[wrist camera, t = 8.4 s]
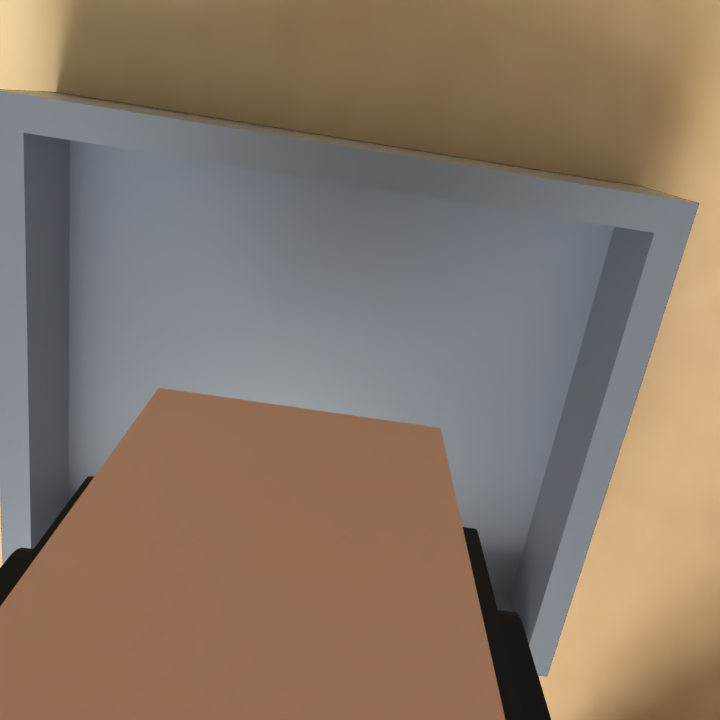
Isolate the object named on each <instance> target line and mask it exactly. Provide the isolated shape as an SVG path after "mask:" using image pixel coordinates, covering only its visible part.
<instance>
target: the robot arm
mask: <svg viewBox="0 0 720 720" xmlns="http://www.w3.org/2000/svg"><path fill="white" fill-rule="evenodd" d="M93 478H94V476H88V477H87V478H86V479H85V480H84V482H83V483H82V484H81V486H80V487H79V488H78V490H77V491H76V492H75V494H74V495H73V496H72V498H71V499H70V500H69V502H68V503H67V505H66V506H65V507H64V509H63V510H62V511H61V513H60V514H59V515H58V517H57V518H56V519H55V521H54V522H53V523H52V525H51V526H50V527H49V529H48V530H47V531H46V533H45V534H44V535H43V537H42V538H41V540H40V541H39V542H38V544H37V545H36V546H35V548H34V549H29V548H22V547H21V548H19V549H16V550H15V551H14V552H13V553H12V554H11V555H10V556H9V558H8V559H7V560H6V561H5V563H4V564H3V565H2V566H1V568H0V606H1V605H2V604H3V602H4V601H5V599H6V598H7V597H8V595H9V594H10V592H11V591H12V590H13V588H14V587H15V586H16V584H17V583H18V581H19V580H20V579H21V577H22V576H23V575H24V573H25V572H26V570H27V569H28V568H29V566H30V565H31V563H32V562H33V561H34V559H35V558H36V557H37V555H38V554H39V552H40V551H41V550H42V548H43V547H44V546H45V544H46V543H47V541H48V540H49V539H50V537H51V536H52V535H53V533H54V532H55V530H56V529H57V528H58V526H59V525H60V523H61V522H62V521H63V519H64V518H65V517H66V515H67V514H68V512H69V511H70V510H71V508H72V507H73V506H74V504H75V503H76V501H77V500H78V499H79V497H80V496H81V494H82V493H83V492H84V490H85V489H86V488H87V486H88V485H89V483H90V482H91V481H92V479H93ZM463 531H464V536H465V540H466V545H467V549H468V554H469V558H470V563H471V567H472V572H473V576H474V581H475V585H476V590H477V594H478V599H479V603H480V608H481V612H482V617H483V621H484V626H485V630H486V635H487V639H488V644H489V648H490V653H491V657H492V662H493V666H494V671H495V675H496V680H497V684H498V689H499V693H500V698H501V702H502V707H503V711H504V716H505V720H551V718H550V715H549V711H548V708H547V704H546V701H545V698H544V694H543V691H542V688H541V684H540V681H539V677H538V674H537V671H536V667H535V664H534V660H533V657H532V654H531V650H530V647H529V644H528V640H527V637H526V633H525V630H524V627H523V623H522V621H521V618H520V616H519V615H518V614H517V613H516V612H510V611H502V610H498V609H497V605H496V601H495V597H494V593H493V589H492V586H491V582H490V578H489V574H488V570H487V566H486V562H485V558H484V554H483V550H482V546H481V542H480V538H479V534H478V531H477V529H475V528H468V527H463Z"/></svg>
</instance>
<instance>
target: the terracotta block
mask: <svg viewBox="0 0 720 720" xmlns="http://www.w3.org/2000/svg"><path fill="white" fill-rule="evenodd" d="M0 720H505V716H504V711H503V707H502V702H501V698H500V693H499V689H498V684H497V680H496V675H495V671H494V666H493V662H492V657H491V653H490V648H489V644H488V639H487V635H486V630H485V626H484V621H483V617H482V612H481V608H480V603H479V599H478V594H477V590H476V585H475V581H474V576H473V572H472V567H471V563H470V558H469V554H468V549H467V545H466V540H465V536H464V531H463V527H462V522H461V518H460V513H459V509H458V504H457V500H456V495H455V491H454V486H453V482H452V477H451V473H450V468H449V464H448V459H447V455H446V450H445V446H444V441H443V437H442V432H441V428H438V427H431V426H424V425H417V424H410V423H403V422H396V421H389V420H381V419H374V418H367V417H360V416H353V415H346V414H339V413H332V412H325V411H318V410H311V409H304V408H297V407H290V406H283V405H276V404H269V403H262V402H255V401H248V400H241V399H234V398H227V397H220V396H213V395H206V394H199V393H192V392H185V391H178V390H171V389H164V388H158V390H157V391H156V392H155V394H154V395H153V397H152V398H151V399H150V401H149V402H148V403H147V405H146V406H145V408H144V409H143V410H142V412H141V413H140V414H139V416H138V417H137V419H136V420H135V421H134V423H133V424H132V425H131V427H130V428H129V430H128V431H127V432H126V434H125V435H124V437H123V438H122V439H121V441H120V442H119V443H118V445H117V446H116V448H115V449H114V450H113V452H112V453H111V454H110V456H109V457H108V459H107V460H106V461H105V463H104V464H103V466H102V467H101V468H100V470H99V471H98V472H97V474H96V475H95V477H94V478H93V479H92V481H91V482H90V483H89V485H88V486H87V488H86V489H85V490H84V492H83V493H82V494H81V496H80V497H79V499H78V500H77V501H76V503H75V504H74V506H73V507H72V508H71V510H70V511H69V512H68V514H67V515H66V517H65V518H64V519H63V521H62V522H61V523H60V525H59V526H58V528H57V529H56V530H55V532H54V533H53V535H52V536H51V537H50V539H49V540H48V541H47V543H46V544H45V546H44V547H43V548H42V550H41V551H40V552H39V554H38V555H37V557H36V558H35V559H34V561H33V562H32V563H31V565H30V566H29V568H28V569H27V570H26V572H25V573H24V575H23V576H22V577H21V579H20V580H19V581H18V583H17V584H16V586H15V587H14V588H13V590H12V591H11V592H10V594H9V595H8V597H7V598H6V599H5V601H4V602H3V604H2V605H1V606H0Z"/></svg>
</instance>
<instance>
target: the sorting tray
mask: <svg viewBox="0 0 720 720" xmlns="http://www.w3.org/2000/svg"><path fill="white" fill-rule="evenodd" d="M698 206H699V203H696V202H693V201H689V200H686V199H683V198H679V197H676V196H672V195H669V194H665V193H662V192H658V191H655V190H651V189H648V188H645V187H641V186H635V185H628V184H622V183H616V182H610V181H604V180H597V179H591V178H585V177H579V176H573V175H566V174H560V173H554V172H548V171H542V170H535V169H529V168H523V167H517V166H511V165H504V164H498V163H492V162H486V161H480V160H473V159H467V158H461V157H455V156H449V155H442V154H436V153H430V152H424V151H418V150H411V149H405V148H399V147H393V146H387V145H380V144H374V143H368V142H362V141H356V140H349V139H343V138H337V137H331V136H325V135H319V134H312V133H306V132H300V131H294V130H288V129H281V128H275V127H269V126H263V125H257V124H250V123H244V122H238V121H232V120H226V119H219V118H213V117H207V116H201V115H195V114H188V113H182V112H176V111H170V110H164V109H157V108H151V107H145V106H139V105H133V104H126V103H120V102H114V101H108V100H102V99H95V98H89V97H83V96H77V95H71V94H64V93H58V92H45V91H25V90H5V89H0V505H1V533H2V560H3V564H4V563H5V561H6V560H7V559H8V558H9V556H10V555H11V554H12V553H13V552H14V551H15V550H16V549H19V548H21V547H22V548H29V549H34V548H35V546H36V545H37V544H38V542H39V541H40V540H41V538H42V537H43V535H44V534H45V533H46V531H47V530H48V529H49V527H50V526H51V525H52V523H53V522H54V521H55V519H56V518H57V517H58V515H59V514H60V513H61V511H62V510H63V509H64V507H65V506H66V505H67V503H68V502H69V500H70V499H71V498H72V496H73V495H74V494H75V492H76V491H77V490H78V488H79V487H80V486H81V484H82V483H83V482H84V480H85V479H86V478H87V477H88V476H94V477H95V475H96V474H97V472H98V471H99V470H100V468H101V467H102V466H103V464H104V463H105V461H106V460H107V459H108V457H109V456H110V454H111V453H112V452H113V450H114V449H115V448H116V446H117V445H118V443H119V442H120V441H121V439H122V438H123V437H124V435H125V434H126V432H127V431H128V430H129V428H130V427H131V425H132V424H133V423H134V421H135V420H136V419H137V417H138V416H139V414H140V413H141V412H142V410H143V409H144V408H145V406H146V405H147V403H148V402H149V401H150V399H151V398H152V397H153V395H154V394H155V392H156V391H157V390H158V388H164V389H171V390H178V391H185V392H192V393H199V394H206V395H213V396H220V397H227V398H234V399H241V400H248V401H255V402H262V403H269V404H276V405H283V406H290V407H297V408H304V409H311V410H318V411H325V412H332V413H339V414H346V415H353V416H360V417H367V418H374V419H381V420H389V421H396V422H403V423H410V424H417V425H424V426H431V427H438V428H441V432H442V437H443V441H444V446H445V450H446V455H447V459H448V464H449V468H450V473H451V477H452V482H453V486H454V491H455V495H456V500H457V504H458V509H459V513H460V518H461V522H462V527H468V528H475V529H477V531H478V534H479V538H480V542H481V546H482V550H483V554H484V558H485V562H486V566H487V570H488V574H489V578H490V582H491V586H492V589H493V593H494V597H495V601H496V605H497V609H498V610H502V611H510V612H516V613H517V614H518V615H519V616H520V618H521V621H522V623H523V627H524V630H525V633H526V637H527V640H528V644H529V647H530V650H531V654H532V657H533V660H534V664H535V667H536V671H537V674H538V676H546V677H547V675H548V672H549V669H550V666H551V663H552V660H553V657H554V654H555V651H556V647H557V644H558V641H559V638H560V635H561V632H562V629H563V626H564V623H565V619H566V616H567V613H568V610H569V607H570V604H571V601H572V598H573V594H574V591H575V588H576V585H577V582H578V579H579V576H580V573H581V570H582V566H583V563H584V560H585V557H586V554H587V551H588V548H589V545H590V542H591V538H592V535H593V532H594V529H595V526H596V523H597V520H598V517H599V514H600V510H601V507H602V504H603V501H604V498H605V495H606V492H607V489H608V486H609V482H610V479H611V476H612V473H613V470H614V467H615V464H616V461H617V458H618V454H619V451H620V448H621V445H622V442H623V439H624V436H625V433H626V430H627V426H628V423H629V420H630V417H631V414H632V411H633V408H634V405H635V402H636V398H637V395H638V392H639V389H640V386H641V383H642V380H643V377H644V374H645V370H646V367H647V364H648V361H649V358H650V355H651V352H652V349H653V346H654V342H655V339H656V336H657V333H658V330H659V327H660V324H661V321H662V318H663V314H664V311H665V308H666V305H667V302H668V299H669V296H670V293H671V290H672V286H673V283H674V280H675V277H676V274H677V271H678V268H679V265H680V262H681V258H682V255H683V252H684V249H685V246H686V243H687V240H688V237H689V234H690V230H691V227H692V224H693V221H694V218H695V215H696V212H697V209H698Z"/></svg>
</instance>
